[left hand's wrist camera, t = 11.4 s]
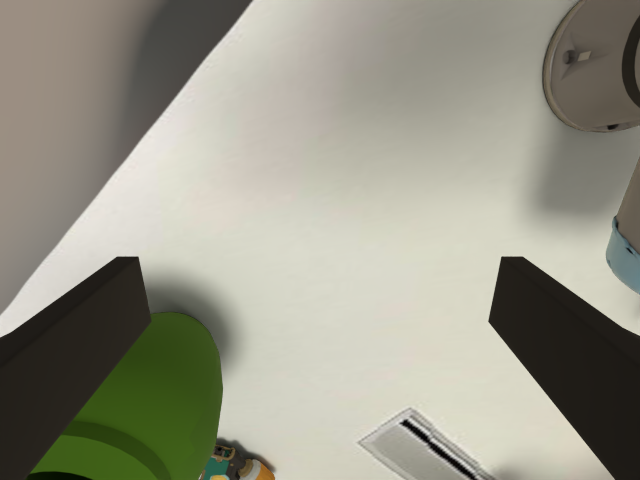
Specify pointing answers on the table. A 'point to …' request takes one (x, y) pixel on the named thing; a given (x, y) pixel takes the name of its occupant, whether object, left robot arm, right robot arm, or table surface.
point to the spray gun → (233, 467)
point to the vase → (147, 411)
